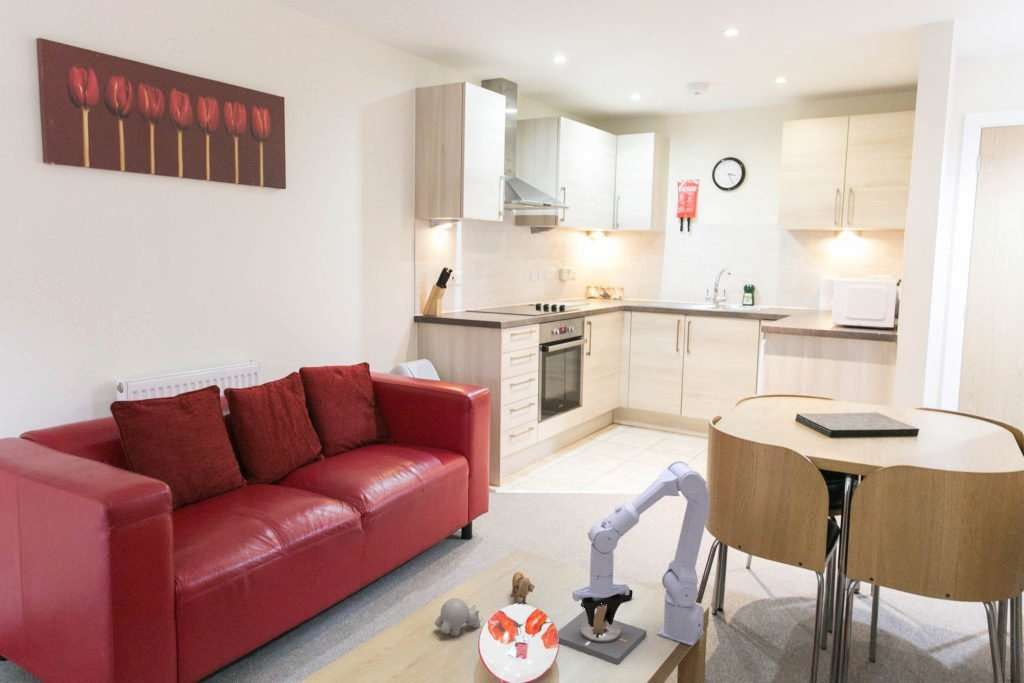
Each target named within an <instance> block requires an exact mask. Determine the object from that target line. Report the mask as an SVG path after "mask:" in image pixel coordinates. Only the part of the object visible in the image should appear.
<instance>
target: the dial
mask: <svg viewBox="0 0 1024 683" xmlns="http://www.w3.org/2000/svg"><path fill="white" fill-rule="evenodd" d="M580 632H581V634H582V635H583V636H584V637H585V638H587V639H589V640H591V641H595V642H610V641H614V640H616V639H617V638H618V637H619V636H620V627H619V625H618V624H616V623H615V622H613V623H612V625H610V624H609V623H608V622H607V606H603V605H602V606H598V607H596V610H595V616H594V621H593V627H591V626H590V625H589V624H588V620H586V621H584V622H583V623H582V624H581V626H580Z"/></svg>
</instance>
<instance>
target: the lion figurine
mask: <svg viewBox="0 0 1024 683" xmlns="http://www.w3.org/2000/svg"><path fill="white" fill-rule="evenodd" d="M529 580H530V579H529V577H526V576H524V575H523V573H522V572H520V571H517V572H515V573H514V574H513V576H512V586H511V588H512V589H511V593H510V597H512V598H513V601H514V604H515V603H518V604H519V599H522V600H521V604H522V603H524V604H527V605H528V603H527V602H526V600H527V596H528V595H529V593H533V591H534V589H535V588H536V586H535V585H534V584H533V583H532V582H531V581H529ZM518 598H519V599H518Z"/></svg>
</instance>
